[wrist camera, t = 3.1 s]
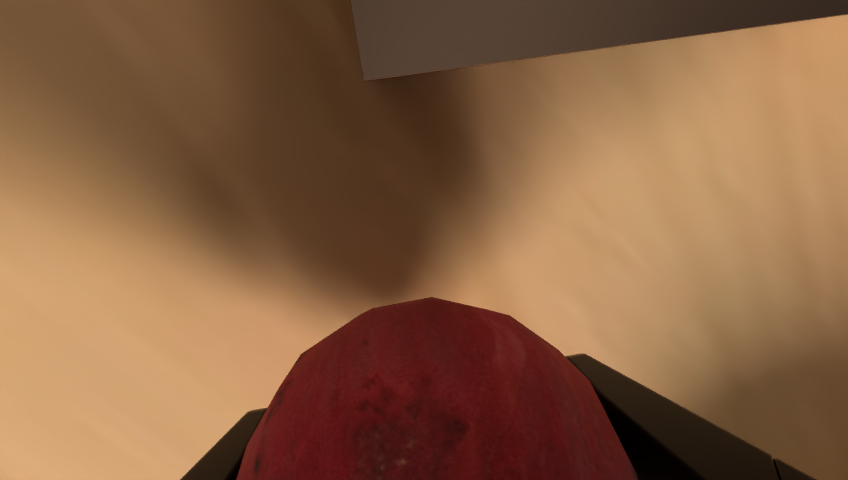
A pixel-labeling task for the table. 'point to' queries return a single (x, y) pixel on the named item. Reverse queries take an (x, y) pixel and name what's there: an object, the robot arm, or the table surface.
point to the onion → (434, 405)
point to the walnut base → (545, 27)
